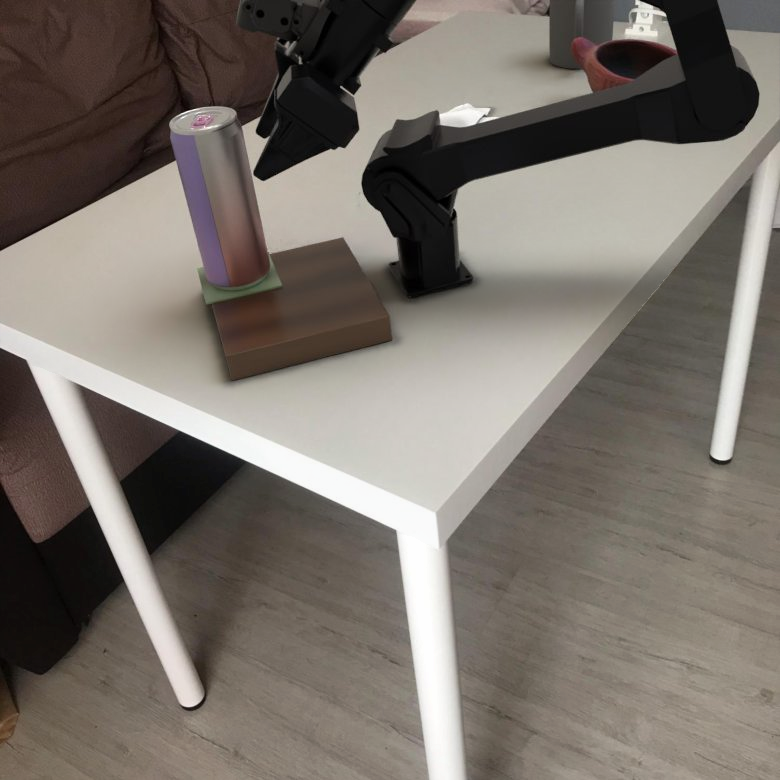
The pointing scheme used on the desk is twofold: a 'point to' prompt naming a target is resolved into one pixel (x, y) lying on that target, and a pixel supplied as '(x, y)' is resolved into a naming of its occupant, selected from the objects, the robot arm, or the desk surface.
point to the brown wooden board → (298, 310)
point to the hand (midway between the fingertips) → (258, 155)
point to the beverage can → (220, 196)
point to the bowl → (617, 60)
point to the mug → (578, 27)
